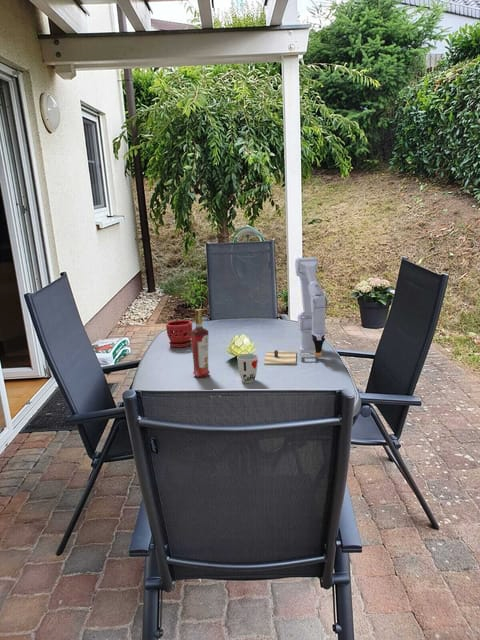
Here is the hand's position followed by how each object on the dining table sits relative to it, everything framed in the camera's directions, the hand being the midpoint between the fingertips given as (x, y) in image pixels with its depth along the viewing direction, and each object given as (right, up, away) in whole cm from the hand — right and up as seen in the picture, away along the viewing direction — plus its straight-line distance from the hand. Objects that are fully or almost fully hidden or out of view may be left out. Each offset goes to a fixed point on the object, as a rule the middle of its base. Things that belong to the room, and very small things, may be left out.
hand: (318, 351), depth 214 cm
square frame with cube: (-3, -2, +1) cm, 4 cm away
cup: (-32, -10, -24) cm, 41 cm away
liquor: (-51, -9, -17) cm, 55 cm away
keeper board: (-17, -3, +3) cm, 17 cm away
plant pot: (-66, +1, +29) cm, 72 cm away
